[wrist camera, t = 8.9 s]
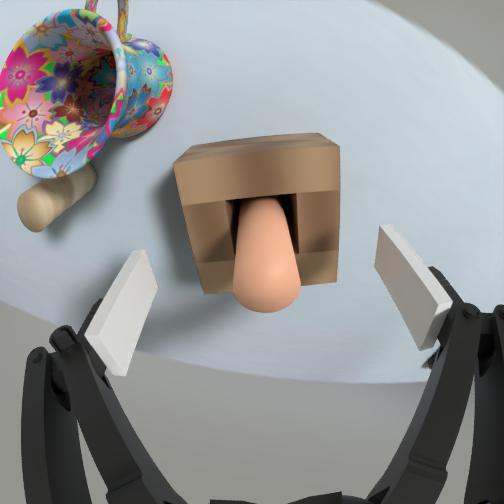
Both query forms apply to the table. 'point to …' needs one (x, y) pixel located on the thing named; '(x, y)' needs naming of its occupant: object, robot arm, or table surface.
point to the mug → (78, 90)
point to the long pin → (264, 257)
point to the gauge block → (261, 184)
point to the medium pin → (54, 197)
